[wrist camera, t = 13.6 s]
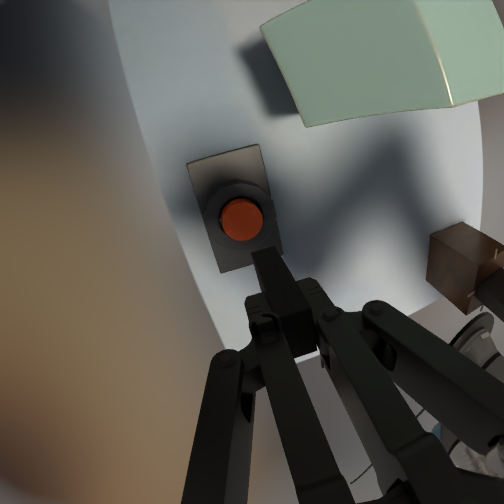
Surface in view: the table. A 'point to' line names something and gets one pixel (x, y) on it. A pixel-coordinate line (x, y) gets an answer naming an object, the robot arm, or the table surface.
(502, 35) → the sage hexagonal prism
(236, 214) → the button
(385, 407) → the robot arm
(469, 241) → the pegged wooden cube
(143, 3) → the table surface
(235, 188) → the button box
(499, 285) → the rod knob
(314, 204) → the table surface
